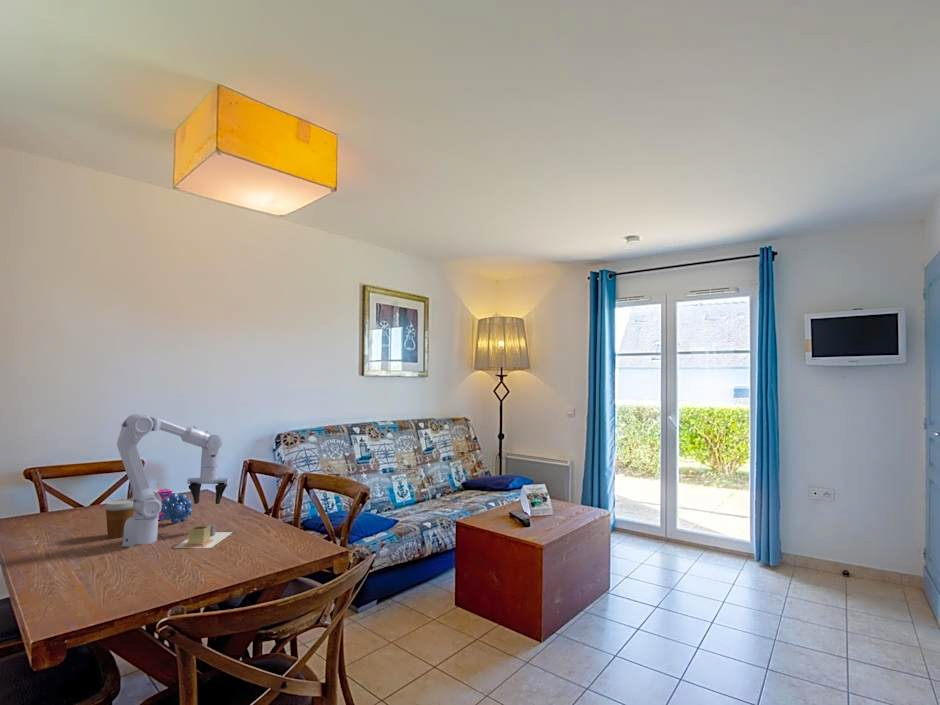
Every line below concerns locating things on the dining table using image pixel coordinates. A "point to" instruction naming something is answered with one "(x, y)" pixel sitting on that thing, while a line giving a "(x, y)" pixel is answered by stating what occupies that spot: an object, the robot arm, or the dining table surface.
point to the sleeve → (199, 535)
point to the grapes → (176, 507)
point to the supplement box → (160, 495)
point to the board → (214, 539)
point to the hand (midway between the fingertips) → (207, 503)
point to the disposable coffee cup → (118, 516)
